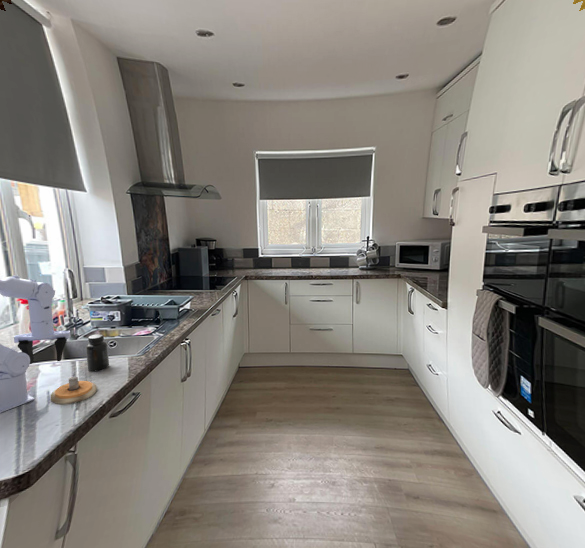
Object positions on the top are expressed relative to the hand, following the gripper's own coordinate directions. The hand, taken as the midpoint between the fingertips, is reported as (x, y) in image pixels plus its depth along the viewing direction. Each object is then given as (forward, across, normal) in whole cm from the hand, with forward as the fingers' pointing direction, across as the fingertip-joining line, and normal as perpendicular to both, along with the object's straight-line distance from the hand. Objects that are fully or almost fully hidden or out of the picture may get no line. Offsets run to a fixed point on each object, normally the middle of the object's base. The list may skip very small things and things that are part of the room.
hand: (45, 361), depth 109 cm
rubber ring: (+7, -9, +8) cm, 14 cm away
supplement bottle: (+9, -12, -11) cm, 19 cm away
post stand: (+8, -9, +8) cm, 15 cm away
